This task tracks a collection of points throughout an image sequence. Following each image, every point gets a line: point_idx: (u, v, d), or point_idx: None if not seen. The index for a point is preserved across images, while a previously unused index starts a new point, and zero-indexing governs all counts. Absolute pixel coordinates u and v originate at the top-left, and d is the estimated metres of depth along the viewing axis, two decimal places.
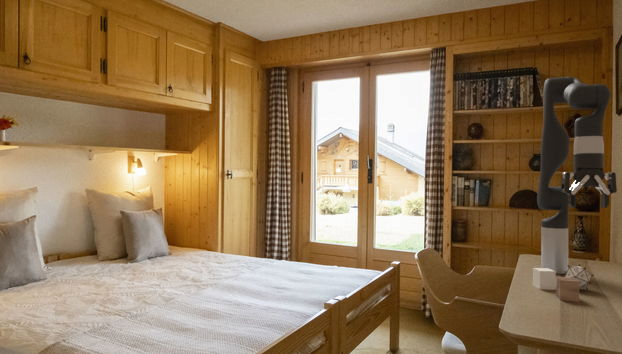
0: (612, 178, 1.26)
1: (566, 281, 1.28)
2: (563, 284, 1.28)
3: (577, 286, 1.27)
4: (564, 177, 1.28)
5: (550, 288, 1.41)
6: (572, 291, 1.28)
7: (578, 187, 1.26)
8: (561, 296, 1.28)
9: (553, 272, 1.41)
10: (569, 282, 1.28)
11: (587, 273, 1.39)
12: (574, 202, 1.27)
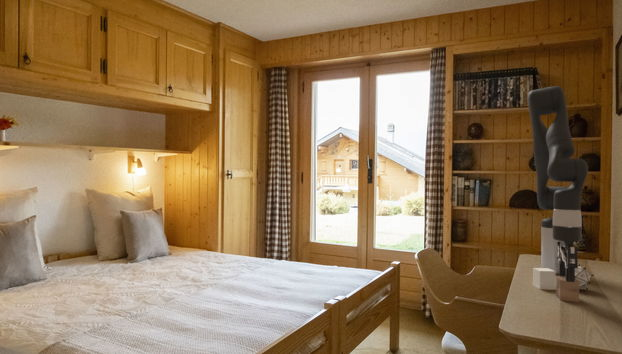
0: None
1: (566, 281, 1.28)
2: (562, 284, 1.28)
3: (577, 286, 1.27)
4: (574, 252, 1.24)
5: (550, 288, 1.41)
6: (572, 291, 1.28)
7: None
8: (561, 296, 1.28)
9: (553, 272, 1.41)
10: (569, 282, 1.28)
11: (587, 273, 1.39)
12: (574, 276, 1.26)
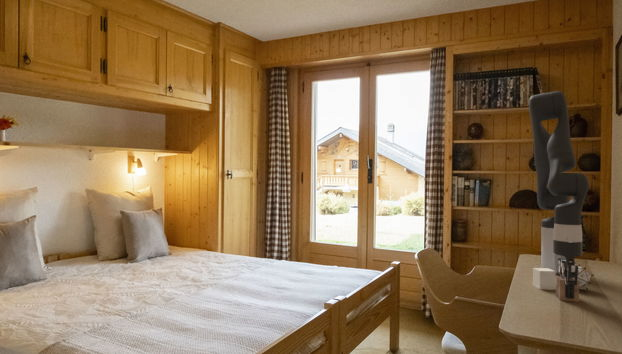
0: None
1: None
2: (562, 283, 1.28)
3: (577, 286, 1.27)
4: (575, 271, 1.24)
5: (550, 288, 1.41)
6: None
7: None
8: (561, 296, 1.28)
9: (553, 272, 1.41)
10: None
11: (587, 273, 1.39)
12: (573, 293, 1.27)
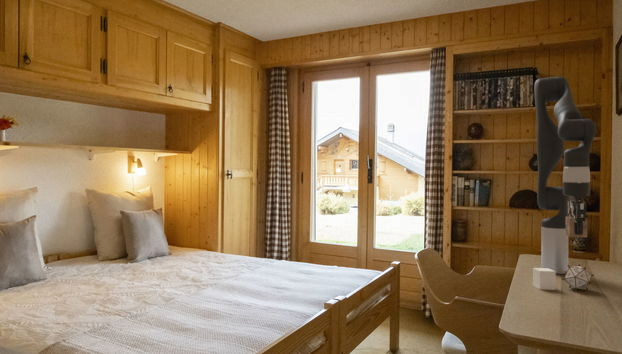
0: None
1: None
2: (572, 221, 1.39)
3: (585, 223, 1.37)
4: (583, 208, 1.34)
5: (550, 288, 1.41)
6: None
7: None
8: (570, 233, 1.39)
9: (553, 272, 1.41)
10: None
11: (587, 273, 1.39)
12: (582, 229, 1.37)
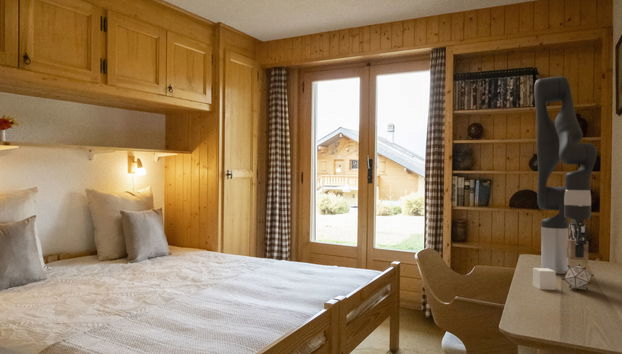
0: None
1: None
2: (573, 244, 1.40)
3: (586, 246, 1.39)
4: (584, 231, 1.35)
5: (550, 288, 1.41)
6: None
7: None
8: (571, 255, 1.40)
9: (553, 272, 1.41)
10: None
11: (587, 273, 1.39)
12: (583, 252, 1.39)
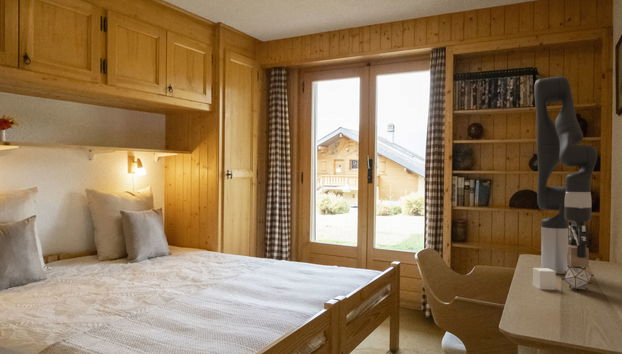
0: None
1: (576, 248, 1.40)
2: (573, 251, 1.40)
3: (587, 252, 1.39)
4: (585, 230, 1.35)
5: (550, 288, 1.41)
6: None
7: (586, 238, 1.38)
8: (572, 262, 1.40)
9: (553, 272, 1.41)
10: None
11: (587, 273, 1.39)
12: (585, 252, 1.37)
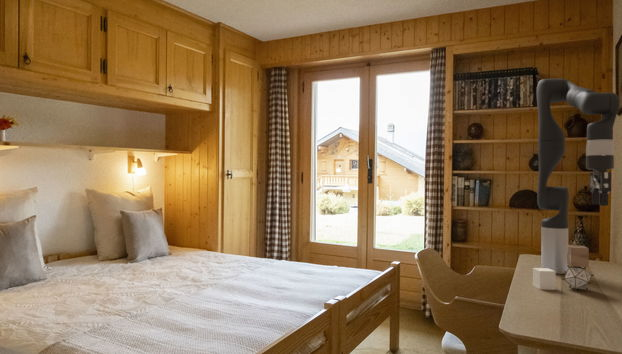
0: None
1: (576, 248, 1.40)
2: (573, 251, 1.40)
3: (587, 252, 1.39)
4: (608, 177, 1.32)
5: (550, 288, 1.41)
6: (582, 257, 1.39)
7: None
8: (572, 262, 1.40)
9: (553, 272, 1.41)
10: (579, 249, 1.39)
11: (587, 273, 1.39)
12: (607, 200, 1.35)
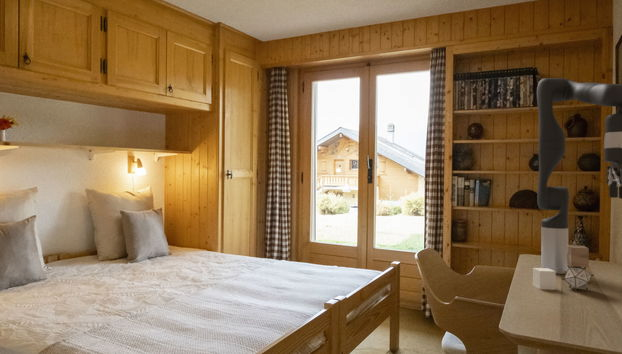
0: None
1: (576, 248, 1.40)
2: (573, 251, 1.40)
3: (587, 252, 1.39)
4: None
5: (550, 288, 1.41)
6: (582, 257, 1.39)
7: None
8: (572, 262, 1.40)
9: (553, 272, 1.41)
10: (579, 249, 1.39)
11: (587, 273, 1.39)
12: None
